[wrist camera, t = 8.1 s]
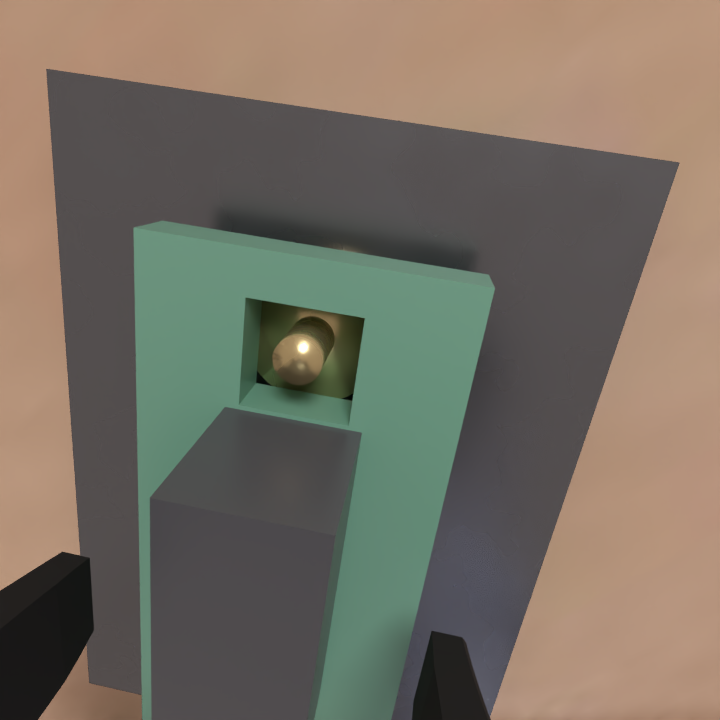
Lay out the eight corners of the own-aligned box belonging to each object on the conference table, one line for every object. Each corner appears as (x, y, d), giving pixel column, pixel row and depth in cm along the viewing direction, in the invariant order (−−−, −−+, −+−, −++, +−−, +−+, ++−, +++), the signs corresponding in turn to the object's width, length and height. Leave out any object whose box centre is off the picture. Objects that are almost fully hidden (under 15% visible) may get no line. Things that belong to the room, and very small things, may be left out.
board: (377, 748, 17) (359, 948, 12) (161, 699, 17) (73, 875, 13) (489, 274, 11) (523, 348, 7) (162, 220, 11) (7, 257, 7)
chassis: (468, 714, 20) (478, 879, 16) (119, 637, 21) (32, 770, 17) (644, 161, 13) (761, 164, 8) (97, 80, 14) (-70, 43, 9)
